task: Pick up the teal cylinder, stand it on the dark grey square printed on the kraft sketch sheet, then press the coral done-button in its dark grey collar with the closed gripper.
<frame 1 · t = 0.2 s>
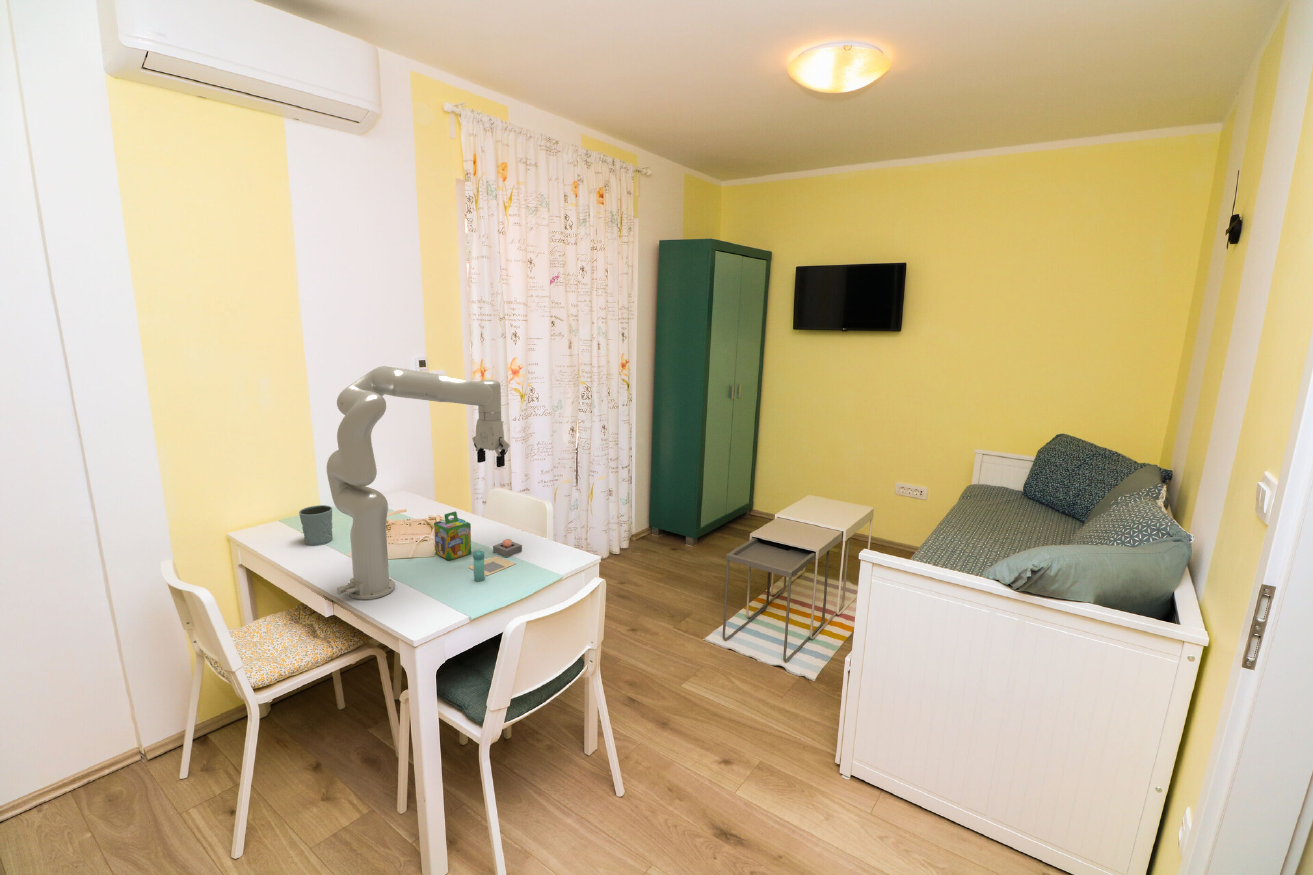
hand: (490, 464, 205), 31 cm above the table, fingers open, 9 cm apart
sheet: (491, 565, 196), on the table
done button: (507, 544, 207), point 3 cm above the table, slide at 0.0 cm
teal grey cup: (318, 542, 210), on the table
chalk box: (453, 554, 204), on the table
teal cylinder: (479, 579, 186), on the table
button collar: (507, 551, 207), on the table
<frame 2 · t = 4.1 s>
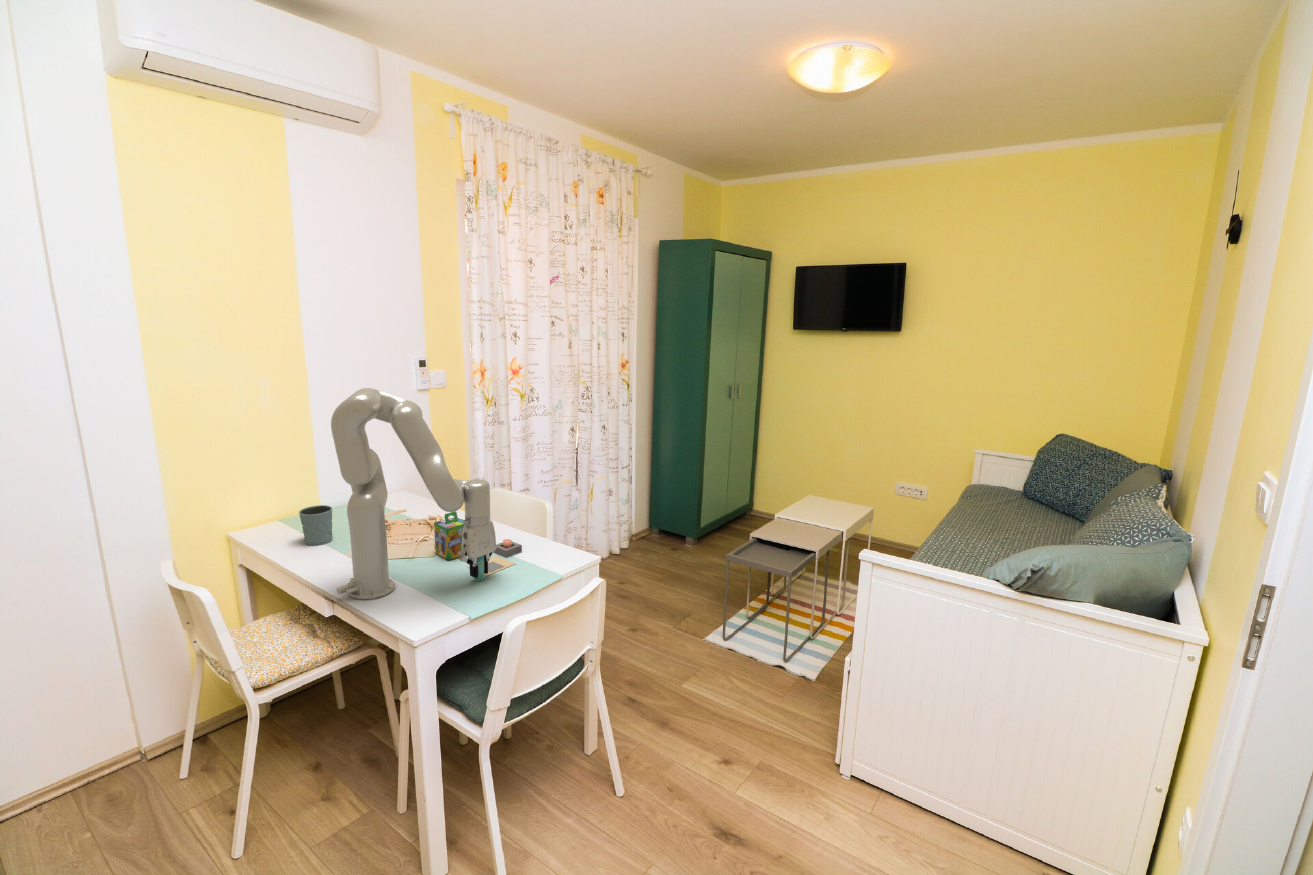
hand: (479, 574, 185), 2 cm above the table, fingers closed on teal cylinder, 3 cm apart
teal cylinder: (479, 579, 186), on the table, touching gripper
everything else where it was.
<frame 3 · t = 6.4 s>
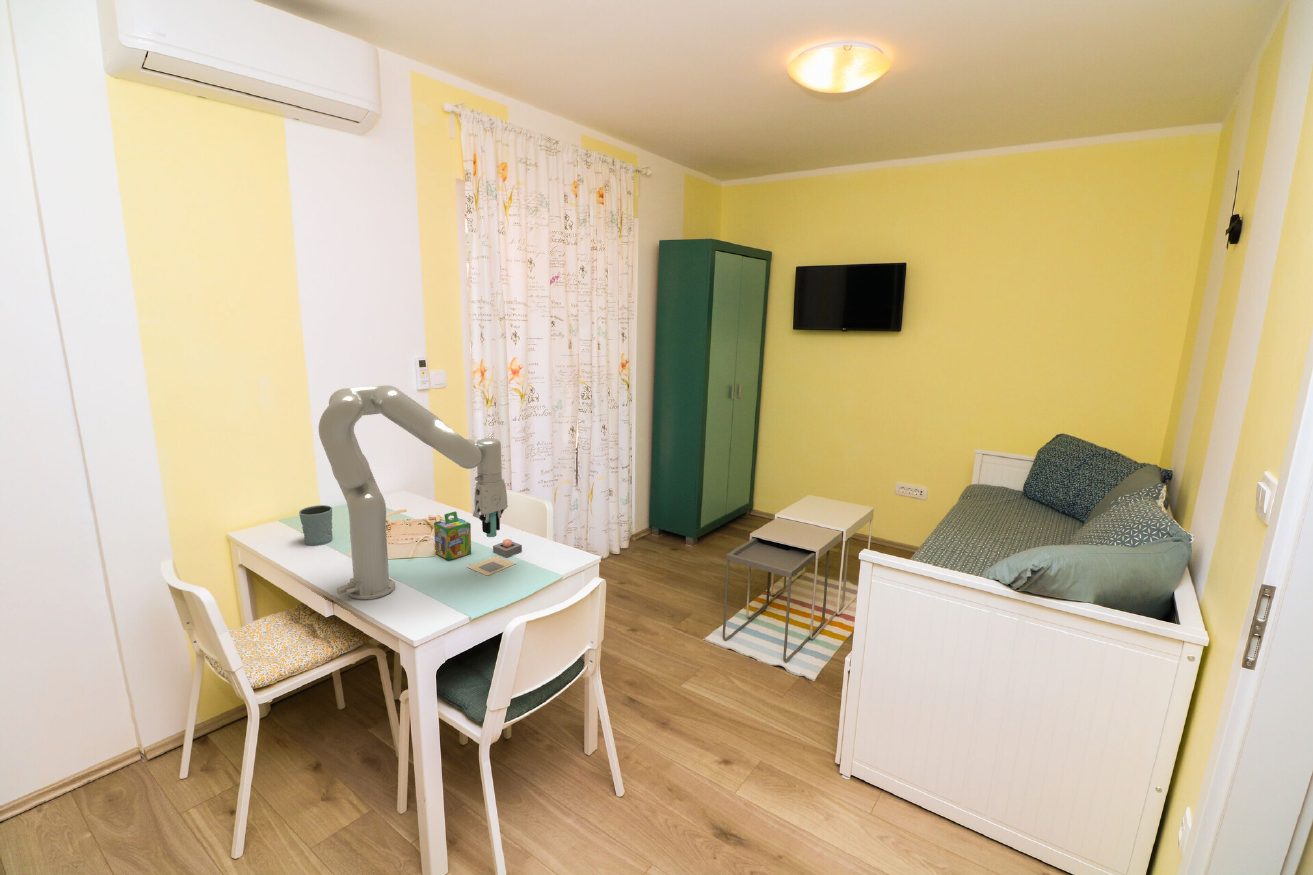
hand: (491, 530, 192), 13 cm above the table, fingers closed on teal cylinder, 3 cm apart
teal cylinder: (491, 535, 192), point 11 cm above the table, touching gripper
everything else where it was.
when the fingers open (3 cm above the table, at t = 8.7 s): teal cylinder stays where it is, resting on sheet.
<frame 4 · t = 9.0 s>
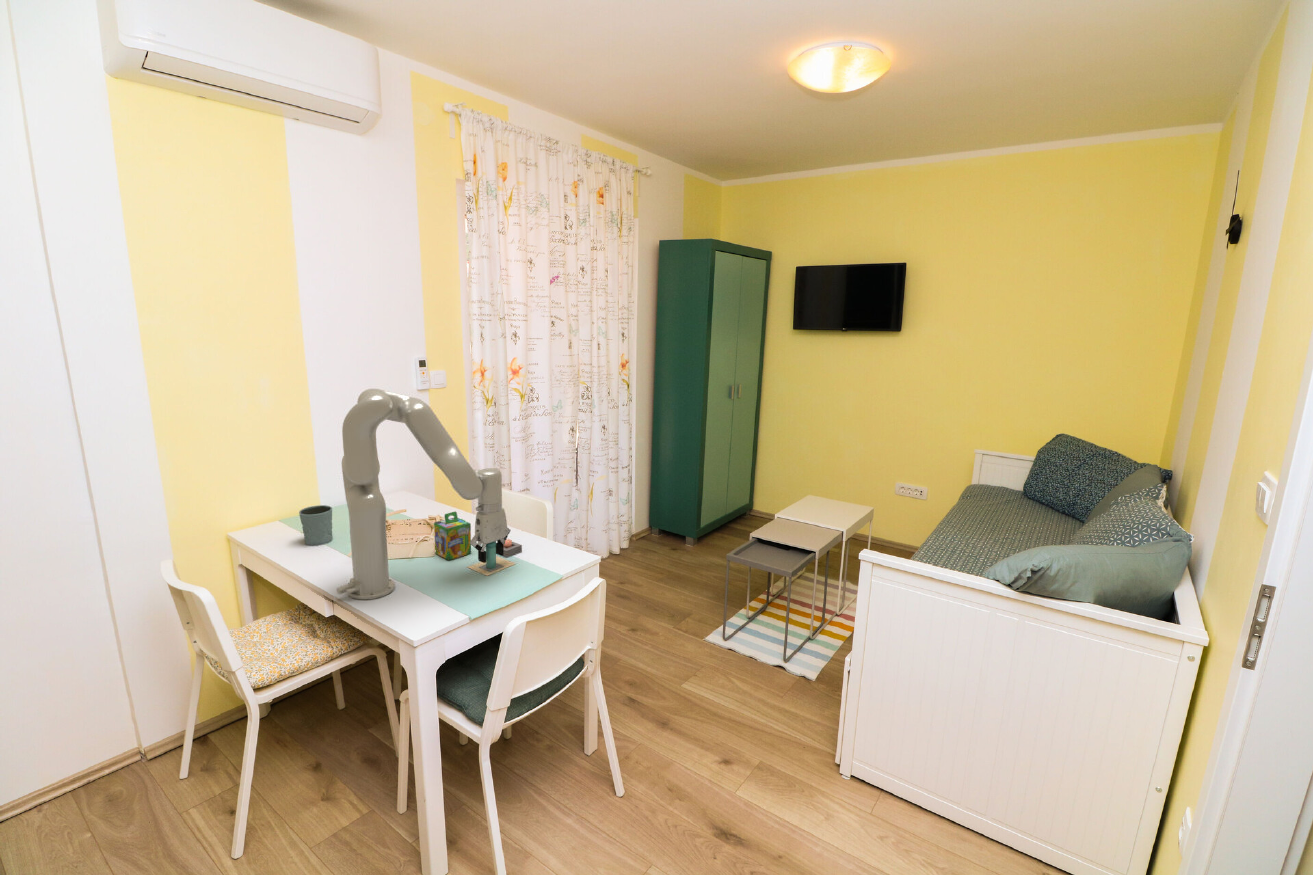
hand: (491, 557, 194), 3 cm above the table, fingers open, 6 cm apart
teal cylinder: (491, 566, 194), resting on sheet
everything else where it was.
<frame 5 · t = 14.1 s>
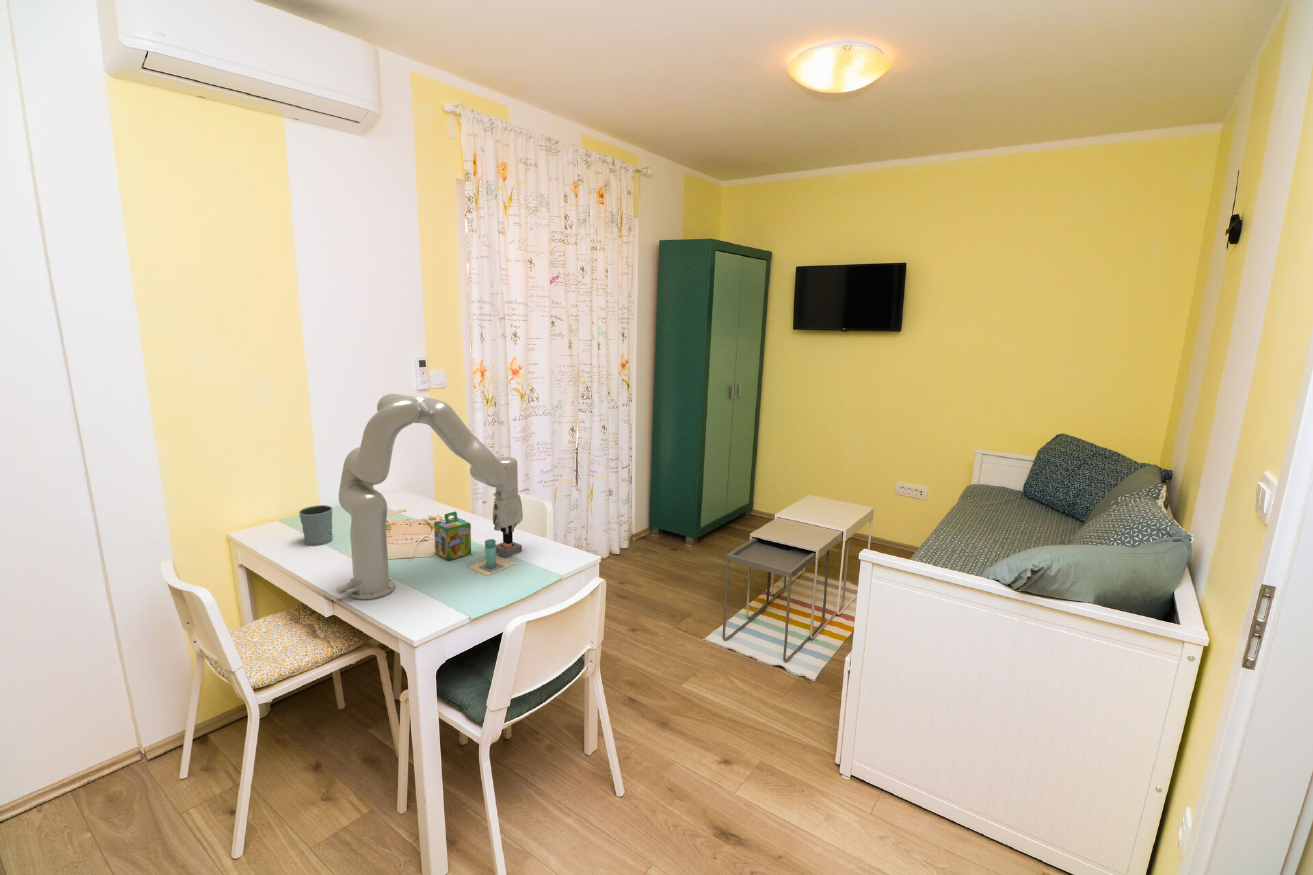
hand: (507, 542, 207), 4 cm above the table, fingers closed
done button: (507, 546, 207), point 2 cm above the table, slide at 0.7 cm, touching gripper
everything else where it was.
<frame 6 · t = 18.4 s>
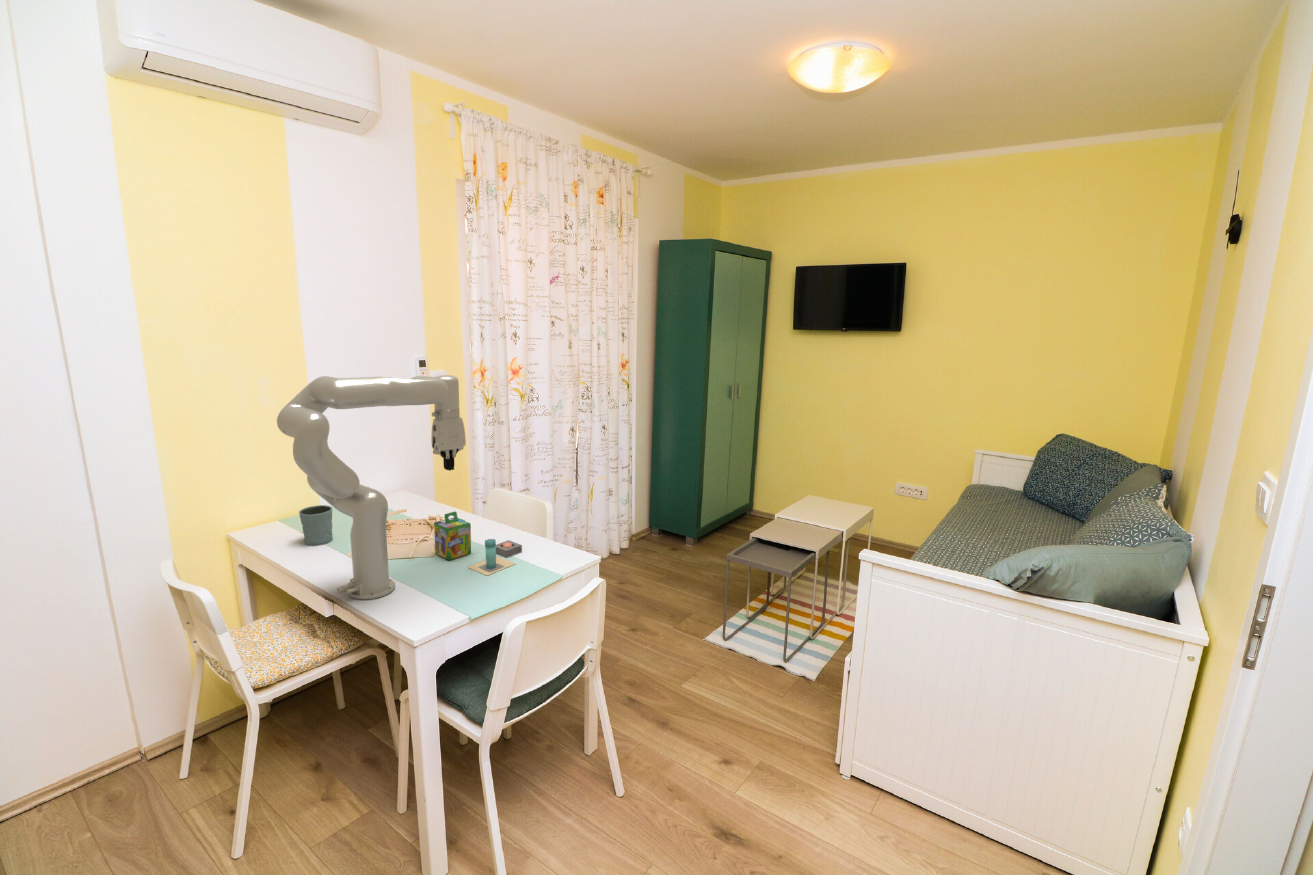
hand: (449, 469, 192), 32 cm above the table, fingers closed
done button: (507, 547, 207), point 2 cm above the table, slide at 1.2 cm
everything else where it was.
at the end: teal cylinder 0.1 cm from the target spot on the sheet, point 0.4 cm above the sheet's base; teal cylinder tilted 2°; done button slide at 1.2 cm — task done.
